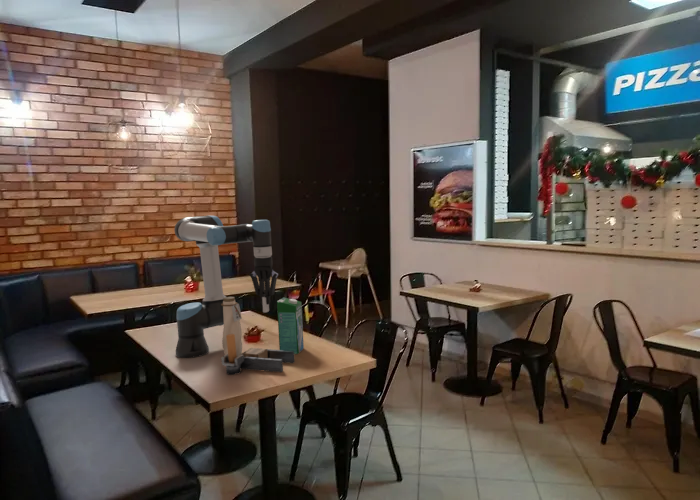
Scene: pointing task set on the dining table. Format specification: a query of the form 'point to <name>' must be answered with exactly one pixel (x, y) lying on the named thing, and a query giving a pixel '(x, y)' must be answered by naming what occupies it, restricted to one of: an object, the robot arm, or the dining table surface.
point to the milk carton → (290, 325)
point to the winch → (233, 364)
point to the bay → (269, 361)
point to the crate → (256, 353)
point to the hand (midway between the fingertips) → (266, 311)
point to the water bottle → (232, 323)
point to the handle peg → (231, 348)
